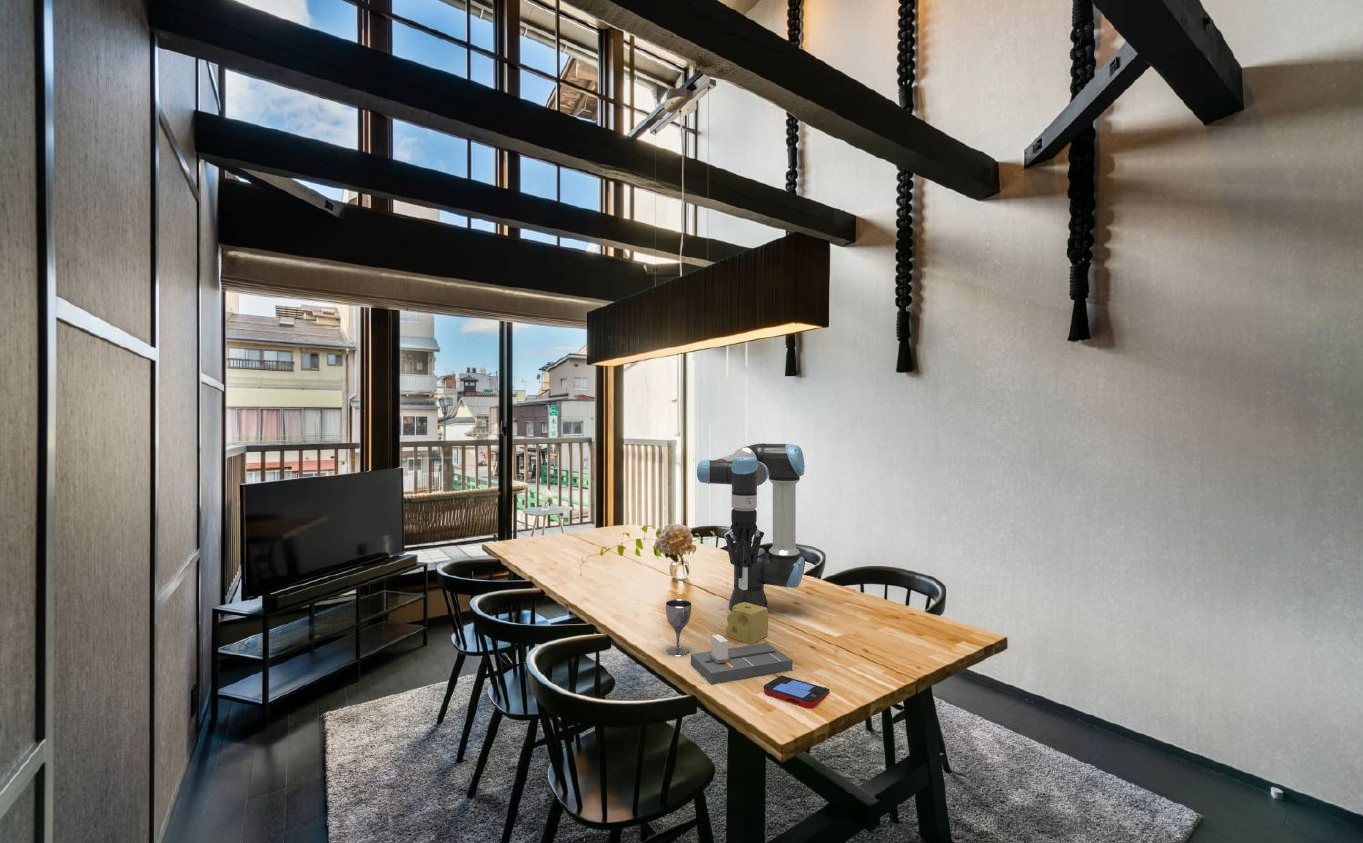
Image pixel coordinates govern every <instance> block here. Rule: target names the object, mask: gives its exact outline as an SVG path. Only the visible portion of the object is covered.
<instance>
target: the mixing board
mask: <svg viewBox="0 0 1363 843" xmlns="http://www.w3.org/2000/svg"><path fill="white" fill-rule="evenodd" d="M710 653H712V650H710V651H702V652H695V653H690V666H692V667H693V668H694V669H695V670H696V672H698V673H699V674H700V675H701V676H702V677H703V678H704V677H705V678H706V679H705V678H704V679H705V680H706V681H707V682H708V683H709V684H711V685H716V684H720V683H726V682H733V681H739V680H744V679H750V678H756V677H761V676H769V675H774V674H779V673H785V672H790V671H793V661H794V660H793V659H792V658H790V657H789V656H787V654H785V653H783V652H781V651H780V650H779V649H777V648H775V647H774V646H773V645H771V644H769V643H768V642H764V643H756V644H748V645H744V646H737V647H730V648H729V647H728V657H729V658H730V662H724V663H718V664H717V663H716V662H715V661H714V660H712V659H711V658H710V657H709V655H710Z"/></svg>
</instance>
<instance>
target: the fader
mask: <svg viewBox="0 0 1363 843" xmlns="http://www.w3.org/2000/svg"><path fill="white" fill-rule="evenodd" d="M728 648H729V640H728V639H726V638H725V637H724V636H722V635H721V634H713V635H711V651H712V653H710V655H709V657H710V658H711V659H712V660H714V661H715V662H716V663H717V664H718V663H724V662H730V658H729V657H728Z"/></svg>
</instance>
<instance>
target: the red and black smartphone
mask: <svg viewBox="0 0 1363 843" xmlns="http://www.w3.org/2000/svg"><path fill="white" fill-rule="evenodd" d="M763 693H764V695H765V696H768V697H772V698H775V699H778V700H780V701H783V702H787V703H790V704H793V705H796V706H799V707H803V708H807V709H809V708H810V709H811V708H814V707H815V706H816V705H817V704H819V702H821V701H820V700H821V699H822V698H823V697H824V698H825V697H826V696H828V694H830V689H829V688H827V687H824V686H820V685H816V684H813V683H810V682H807V681H803V680H799V679H797V678H793V677H789V676H786V675H779V676H778V677H776V678H774V679H773V680H771V681H769V682H768V683H766V684H764V685H763ZM824 698H823V699H824ZM823 699H822V700H823Z"/></svg>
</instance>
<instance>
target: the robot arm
mask: <svg viewBox="0 0 1363 843" xmlns="http://www.w3.org/2000/svg"><path fill="white" fill-rule="evenodd" d="M805 465H806V464H805V457H804V452H803V450H802V448H801V446H799V445H797V444H793V443H754V444H750V445H747V446H744V447H740V448H738V449H736V450H735V451H734V453H731V454H729V455H726V456H724V457H719V458H717V459H714V460H712V459H702V460H700V461H699V462H698V464H697V468H696V477H697V480H698V481H699V482H700V483H702V484H709V485H710V484H713V485H716V484H718V485H731V503H730V504H731V508H732V509H731V511H730V512H731V513H730V514H731V516H730V518H731V519H730V520H731V525H730V527H729V531H727V532H723V534H722V536H723V538H724V539H725V541H726V543H725V544H726V547H727V552H728V558H729V562H730V565H732V566H733V590H732V593H731V596H730V599H729V602H728V609H729V611H731V612H732V609H733V606H734V605H736V604H739V603H743V602H747V603H750V604H753V605H758V606H762V607H765V608H768V609H769V604H768V600H767V596H766V592H765V585H766V586H775V587H783V588H787V589H788V588H798V587H799V586H800V584H801V582H802V579H803V574H804V570H805V557H803V556H800V550H799V549H798V548H797V547H796V545H797V544H796V543H797V542H796V541H797V540H796V539H797V538H796V534H797V531H796V528H797V527H796V526H797V525H796V524H797V522H796V516H797V515H796V514H797V512H796V511H797V510H796V508H797V506H796V505H797V504H796V502H797V501H796V498H797V496H796V493H797V492H796V491H797V490H796V488H797V484H798V483H799V481H800V479H801V478H800V477H802V476H804V474H805V467H806V466H805ZM767 479H768V481H770V483H771V484H772V546H771V547H770V548H769V549H768V553H766V551H765V549H764V548H763V547H762V548H761V543H762V540H763V537H764V535H765V532H764V531H761V530H760V529H758V526H757V522H758V518H757V517H758V511H757V508H758V487H759V486H761V485H763V484H764V483H765V482H766V481H767ZM733 538H734V540H735V543H734V540H733Z"/></svg>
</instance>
